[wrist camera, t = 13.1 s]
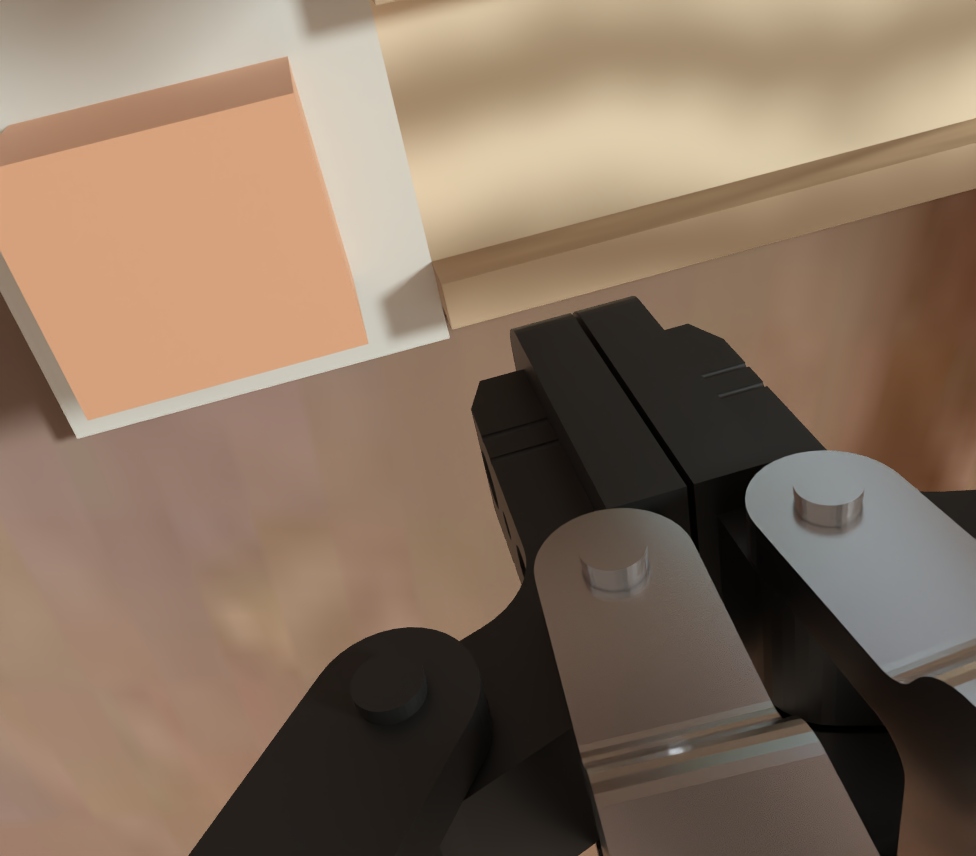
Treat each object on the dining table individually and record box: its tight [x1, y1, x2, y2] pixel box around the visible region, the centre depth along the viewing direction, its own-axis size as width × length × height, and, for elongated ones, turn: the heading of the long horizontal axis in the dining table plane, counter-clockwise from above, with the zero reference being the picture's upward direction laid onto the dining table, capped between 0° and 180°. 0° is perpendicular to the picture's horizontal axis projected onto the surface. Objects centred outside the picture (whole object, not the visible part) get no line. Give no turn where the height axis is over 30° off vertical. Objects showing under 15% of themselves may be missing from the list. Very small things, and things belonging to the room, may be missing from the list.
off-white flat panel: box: [0, 0, 450, 439], centre depth 29 cm, size 14×13×1 cm
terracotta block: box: [0, 56, 369, 420], centre depth 26 cm, size 7×8×5 cm
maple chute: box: [369, 0, 976, 330], centre depth 29 cm, size 12×26×3 cm, turn 101°
